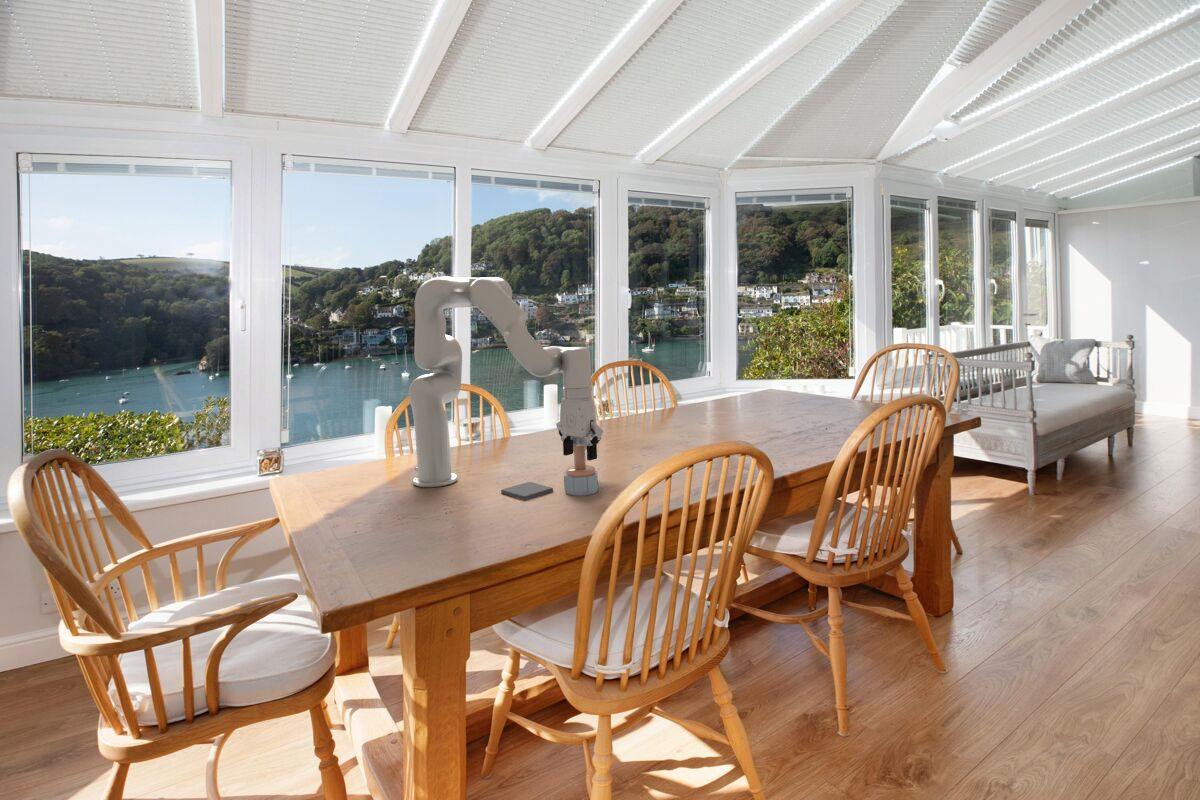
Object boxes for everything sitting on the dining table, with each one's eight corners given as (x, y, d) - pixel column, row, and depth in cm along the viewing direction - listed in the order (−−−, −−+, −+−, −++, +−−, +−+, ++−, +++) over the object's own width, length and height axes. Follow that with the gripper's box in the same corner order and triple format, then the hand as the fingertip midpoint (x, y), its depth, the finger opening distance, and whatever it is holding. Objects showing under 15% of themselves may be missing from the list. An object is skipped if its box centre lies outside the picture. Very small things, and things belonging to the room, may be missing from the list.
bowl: (558, 491, 185) (557, 474, 185) (581, 484, 192) (581, 467, 191) (581, 498, 179) (580, 479, 178) (604, 490, 185) (604, 472, 185)
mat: (501, 493, 186) (501, 489, 186) (529, 485, 193) (529, 481, 193) (524, 500, 179) (524, 496, 179) (553, 491, 186) (552, 487, 186)
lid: (559, 474, 185) (558, 446, 184) (580, 467, 190) (579, 441, 189) (580, 478, 179) (578, 450, 178) (601, 472, 185) (600, 444, 184)
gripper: (545, 392, 185) (548, 455, 187) (590, 398, 173) (592, 464, 175) (565, 389, 190) (568, 450, 193) (610, 394, 178) (613, 459, 181)
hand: (580, 456), depth 184 cm, fingers open, 8 cm apart
